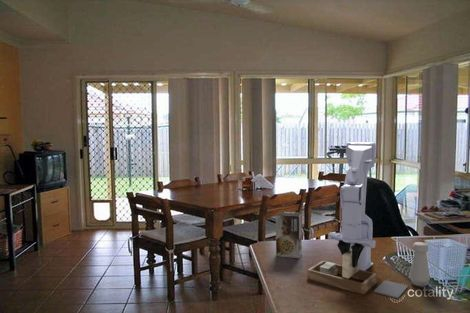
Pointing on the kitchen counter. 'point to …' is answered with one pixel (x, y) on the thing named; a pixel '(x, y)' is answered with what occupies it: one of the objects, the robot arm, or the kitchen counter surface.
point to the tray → (339, 282)
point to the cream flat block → (348, 265)
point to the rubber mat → (391, 289)
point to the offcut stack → (329, 268)
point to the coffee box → (288, 234)
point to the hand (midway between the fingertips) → (350, 265)
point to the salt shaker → (420, 265)
